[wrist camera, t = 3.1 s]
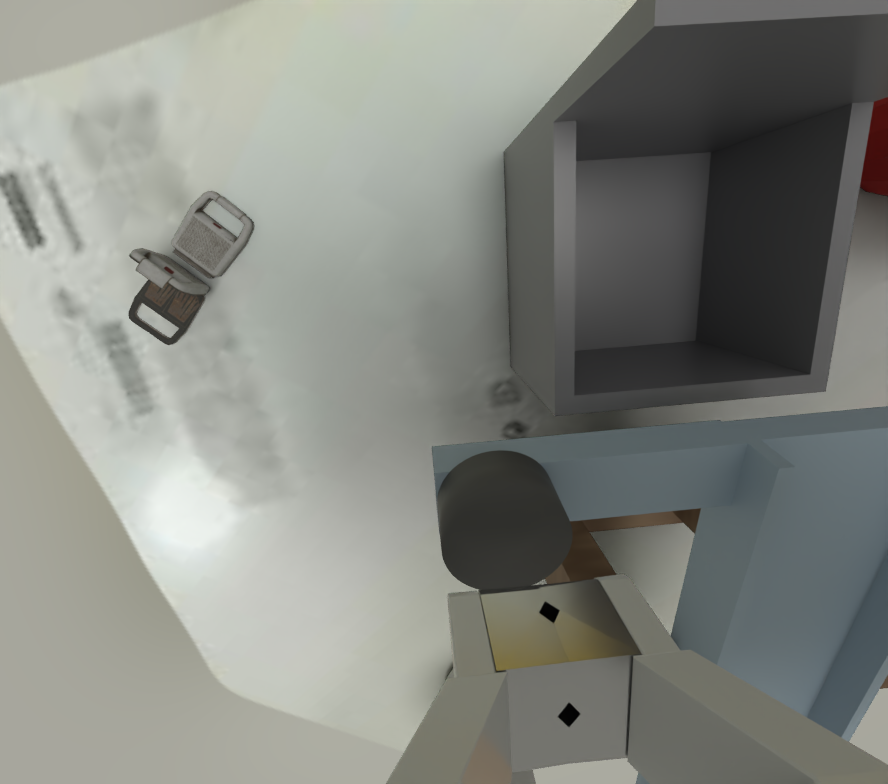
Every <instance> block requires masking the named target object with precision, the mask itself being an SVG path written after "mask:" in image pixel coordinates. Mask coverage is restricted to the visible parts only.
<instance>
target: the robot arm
mask: <svg viewBox="0 0 888 784" xmlns="http://www.w3.org/2000/svg"><path fill="white" fill-rule="evenodd" d="M448 611H449V623H450V635H451V647H452V659H453V671H454V678H450V679H446V681H445V682H444V684H443V686H442V688H441V689H440V691H439V693H438V695H437V696H436V698H435V700H434V701H433V703H432V705H431V707H430V708H429V710H428V712H427V714H426V715H425V717H424V719H423V720H422V722H421V724H420V726H419V727H418V729H417V731H416V733H415V734H414V736H413V738H412V739H411V741H410V743H409V745H408V746H407V748H406V750H405V752H404V753H403V755H402V757H401V759H400V760H399V762H398V764H397V765H396V767H395V769H394V771H393V772H392V774H391V776H390V777H389V779H388V781H387V783H386V784H510V783H511V780H512V773H514V772H520V771H526V770H532V769H538V768H544V767H550V766H556V765H563V764H568V763H579V762H590V761H600V760H609V759H620V758H628V762H629V763H630V764H631V765H632V766H633V767H634V768H635V769H636V770H637V771H638V772H639V773H640V774H641V775H642V776H643V777H644V778H645V779H646V780H647V781H648V782H649V783H650V784H888V765H887V764H886V763H884V762H882V761H880V760H879V759H877V758H875V757H874V756H872V755H870V754H868V753H867V752H865V751H863V750H862V749H860V748H858V747H856V746H855V745H853V744H851V743H850V742H848V741H846V740H844V739H843V738H841V737H839V736H838V735H836V734H834V733H833V732H831V731H829V730H827V729H826V728H824V727H822V726H821V725H819V724H817V723H815V722H814V721H812V720H810V719H809V718H807V717H805V716H803V715H802V714H800V713H798V712H797V711H795V710H793V709H791V708H790V707H788V706H786V705H785V704H783V703H781V702H779V701H778V700H776V699H774V698H773V697H771V696H769V695H767V694H766V693H764V692H762V691H761V690H759V689H757V688H755V687H754V686H752V685H750V684H749V683H747V682H745V681H743V680H742V679H740V678H738V677H737V676H735V675H733V674H731V673H730V672H728V671H726V670H725V669H723V668H721V667H719V666H718V665H716V664H714V663H713V662H711V661H709V660H707V659H706V658H704V657H702V656H701V655H699V654H697V653H695V652H694V651H692V650H680V649H679V647H678V646H677V645H676V643H675V642H674V640H673V639H672V638H671V636H670V635H669V633H668V632H667V630H666V629H665V628H664V626H663V625H662V623H661V622H660V620H659V619H658V618H657V616H656V615H655V613H654V612H653V610H652V609H651V608H650V606H649V605H648V603H647V602H646V600H645V599H644V598H643V596H642V595H641V593H640V592H639V591H638V589H637V588H636V586H635V585H634V583H633V582H632V581H631V579H630V578H629V577H628V576H626V575H625V574H619V575H611V576H604V577H597V578H594V579H587V580H578V581H570V582H561V583H553V584H544V585H533V586H522V587H511V588H499V589H488V590H478V592H477V591H470V592H459V593H449V594H448Z"/></svg>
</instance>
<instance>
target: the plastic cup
mask: <svg viewBox="0 0 888 784" xmlns="http://www.w3.org/2000/svg"><path fill="white" fill-rule="evenodd" d="M860 187H861V188H862V189H864V190H865V191H866V192H872V193H875V194H880V195H885V196H888V97H886V98H883V99H880V100H877V101H874V104H873V110H872V116H871V122H870V128H869V134H868V140H867V146H866V152H865V158H864V164H863V170H862V176H861V182H860Z"/></svg>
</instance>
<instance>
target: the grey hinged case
mask: <svg viewBox="0 0 888 784" xmlns="http://www.w3.org/2000/svg"><path fill="white" fill-rule="evenodd" d="M211 200H215V201H216V202H217V203H219V204H220V205H221V206H222V207H224V208H225V209H226V210H228V211H229V212H230V213H231V214H233V215H234V216H235V217H237V218H238V219H239V220H240V221H241V222H242V223H243V224H244V228H243V229H242V231H241V233H240V235H239V237H238V238H237V237H236V236H235V235H233V234H232V233H231V232H229V231H228V230H227V229H226V228H224V227H223V226H222V225H220V224H219V223H218V222H216V221H215V220H214V219H212V218H211V217H210V216H209V215H207V214H206V213H205V212H203V211H202V210H203V209H204V208H205V207H206V206H207V205H208V204H209V202H210V201H211ZM253 230H254V222H253V221H252V220H251V219H250V218H249V217H248V216H246V214H245V213H244V212H242V211H241V210H240V209H239V208H237V207H236V206H235V205H233V204H232V203H231V202H230V201H228V200H227V199H226V198H224V197H222V196H221V195H219V194H218V193H216V192H213V191H208V192H206V193H204V194H203V195H202V196H201V197H199V198H198V199H197V200H196V201H195V202H194V203H193V204H192V205H191V207H190V209H189V211H188V212H187V214H186V216H185V218H184V220H183V221H182V223H181V225H180V227H179V229H178V230H177V232H176V234H175V236H174V238H173V240H172V242H171V243H172V246H173V247H174V248H175V250H174V251H173V253H175V254H176V255H177V256H179V257H180V258H181V259H183V260H184V261H185V262H187V263H188V264H190V265H191V266H192V267H194V268H195V269H196V270H198V271H199V272H201V273H202V274H203V275H205V276H206V277H207V278H211V277H212V278H214V277H215V276H222V275H223V274H224V273H225V272H226V270H227V269H228V268H229V267H230V265H231V264H232V263H233V261H234V260H235V259H236V258H237V256H238V255H239V254H240V253H241V251H242V250H243V249H244V248H245V246H246V245H247V243H248V241H249V239H250V237H251V235H252V233H253ZM129 256H130V257H131V258H132V259H133V260H135V261H136V262H137V263H139V265H138V266H137V268H136V271H137V272H139V273H140V274H142V275H143V276H145V277H146V278H147V279H149V280H148V281H147V282H146V284H145V285H144V286H143V287H142V289H141V290H140V291H139V293H138V294H137V295H136V297H135V298H134V301H133V303H132V305H131V308H130V310H129V318H130V320H131V321H132V322H134V323H135V324H137V325H138V326H140V327H141V328H143V329H144V330H146V331H147V332H149V333H150V334H152V335H153V336H155V337H156V338H157V339H159V340H160V341H162V342H163V343H165V344H167V345H171V344H174V343H176V342H177V341H178V340H179V339H180V338H181V337H182V336H183V335H184V334H185V333H186V332H187V330H188V329H189V327H190V325H191V323H192V322H193V320H194V318H195V317H196V315H197V313H198V312H199V310H200V308H201V306H202V305H203V303H204V301H205V299H206V298H205V294H206V293H207V292H208V290H209V287H208V286H207V285H206V284H204V283H203V282H202V281H200V280H199V279H198V278H196V277H195V276H193V275H192V274H191V273H189V272H188V271H187V270H185V269H184V268H182V267H181V266H180V265H178V264H177V263H176V262H174V261H173V260H171V259H170V258H169V257H167V256H165V255H162V254H159V253H156V252H153V251H150V250H147V249H144V248H141V249H135V250H133V251H132V252H131V254H130V255H129ZM142 303H144V304H145V305H147V306H148V307H149V308H151V309H152V310H154V311H155V312H157V313H158V314H159V315H161V316H162V317H164V318H165V319H167V320H168V321H170V322H171V323H172V324H174V325H175V326H177V327H178V328H179V330H178V331H177V332H176V333H175V334H174V335H173V336H172V337H171V338H169V337H167V336H165V335H164V334H162V333H161V332H159V331H158V330H156V329H155V328H153V327H152V326H150V325H149V324H147V323H146V322H145V321H143V320H142V319H140V318H139V317H138V316H137V312H138V310H139V308H140V306H141V304H142Z"/></svg>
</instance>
